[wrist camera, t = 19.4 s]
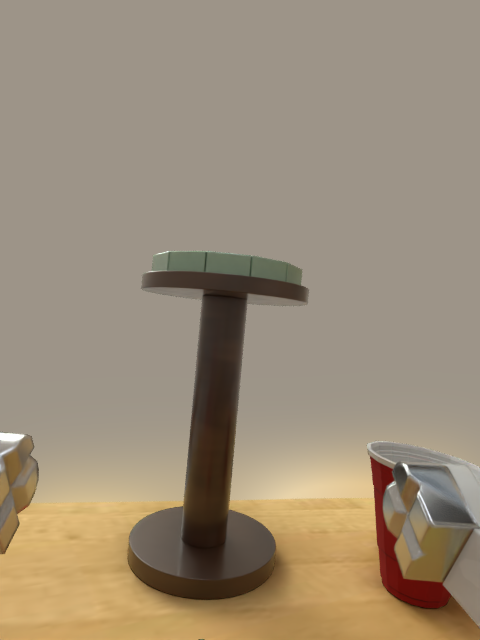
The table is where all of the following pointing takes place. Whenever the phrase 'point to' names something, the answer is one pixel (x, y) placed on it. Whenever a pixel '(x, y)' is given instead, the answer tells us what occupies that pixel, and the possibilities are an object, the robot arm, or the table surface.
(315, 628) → the table surface
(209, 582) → the stand
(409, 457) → the plastic cup
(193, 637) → the table surface
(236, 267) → the bowl
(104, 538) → the table surface
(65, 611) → the table surface
